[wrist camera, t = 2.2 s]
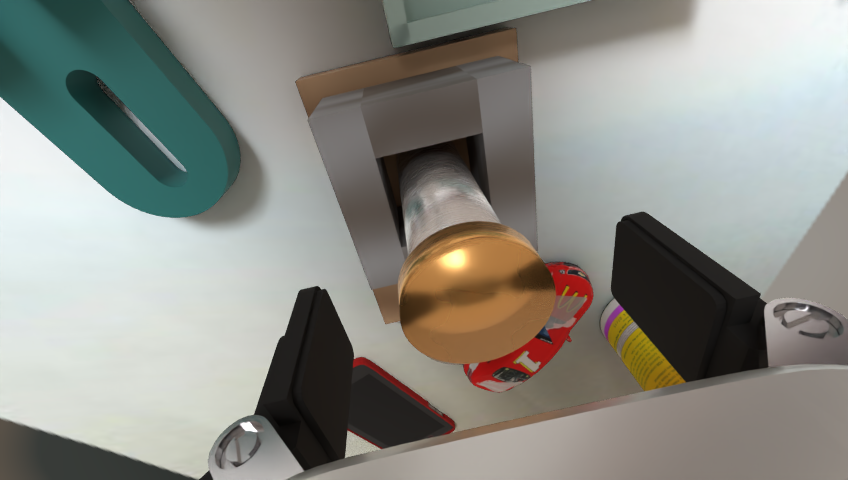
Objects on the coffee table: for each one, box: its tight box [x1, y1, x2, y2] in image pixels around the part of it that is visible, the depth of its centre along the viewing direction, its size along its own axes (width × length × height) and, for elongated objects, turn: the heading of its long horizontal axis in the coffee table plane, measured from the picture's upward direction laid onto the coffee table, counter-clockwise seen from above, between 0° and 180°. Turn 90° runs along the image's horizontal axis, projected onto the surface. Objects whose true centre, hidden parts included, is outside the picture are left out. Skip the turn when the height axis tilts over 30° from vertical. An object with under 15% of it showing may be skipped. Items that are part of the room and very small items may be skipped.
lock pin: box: [396, 141, 556, 364], centre depth 15 cm, size 4×4×12 cm
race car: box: [463, 262, 593, 393], centre depth 29 cm, size 13×5×4 cm, turn 148°
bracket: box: [0, 0, 241, 218], centre depth 14 cm, size 18×7×8 cm, turn 27°
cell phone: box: [347, 357, 455, 449], centre depth 34 cm, size 8×15×1 cm, turn 37°
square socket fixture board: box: [295, 27, 538, 364], centre depth 20 cm, size 17×11×8 cm, turn 11°
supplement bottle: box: [601, 298, 686, 391], centre depth 26 cm, size 7×7×13 cm
